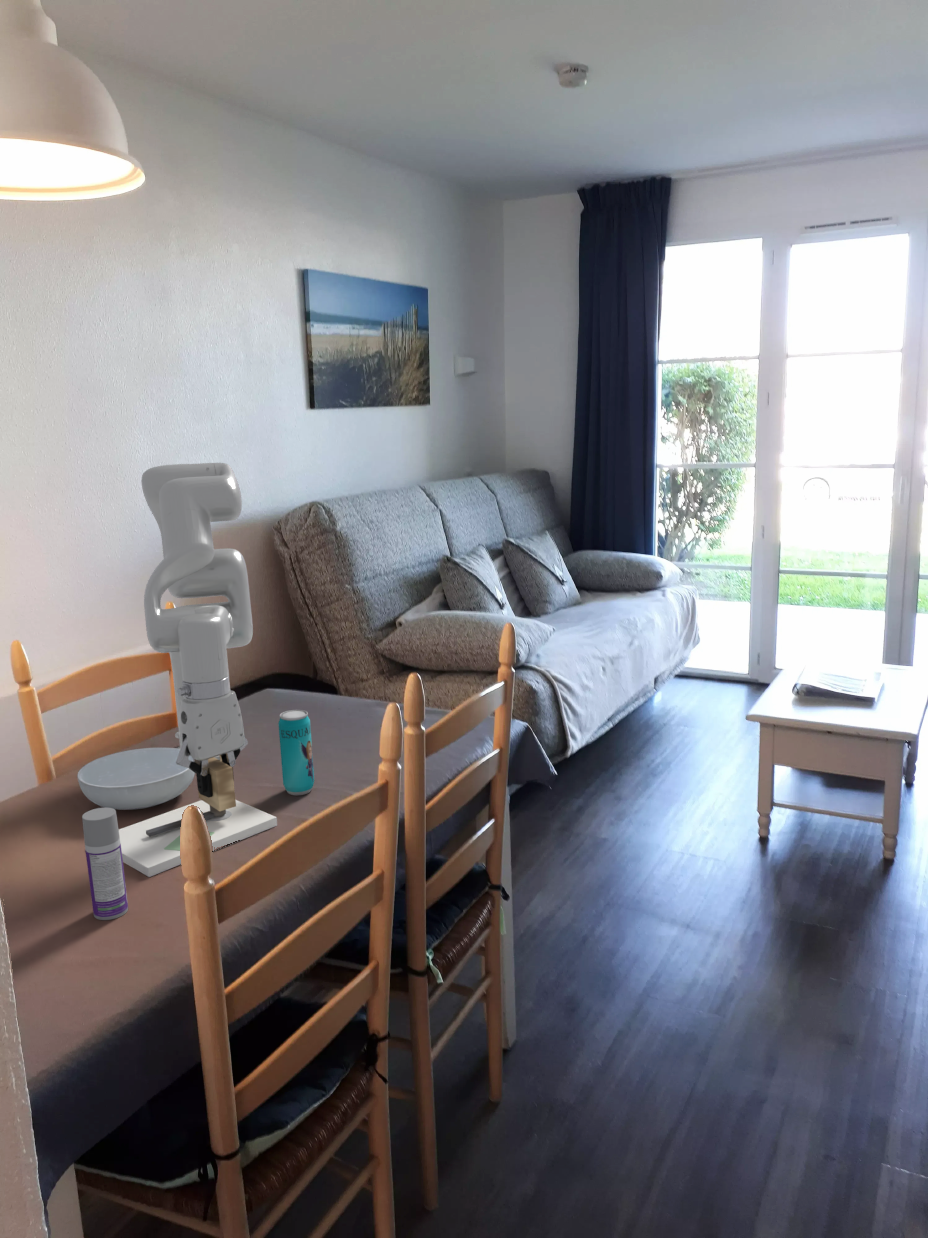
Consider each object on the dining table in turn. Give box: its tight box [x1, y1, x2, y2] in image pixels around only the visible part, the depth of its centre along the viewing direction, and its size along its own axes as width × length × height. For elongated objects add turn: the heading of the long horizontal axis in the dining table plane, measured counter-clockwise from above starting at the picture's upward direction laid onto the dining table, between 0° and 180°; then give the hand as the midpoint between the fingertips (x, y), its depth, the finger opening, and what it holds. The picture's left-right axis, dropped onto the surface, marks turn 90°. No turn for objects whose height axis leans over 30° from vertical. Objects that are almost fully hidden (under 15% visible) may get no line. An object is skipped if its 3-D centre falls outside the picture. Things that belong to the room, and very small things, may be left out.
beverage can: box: [277, 709, 315, 796], centre depth 178 cm, size 6×6×15 cm
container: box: [81, 807, 129, 921], centre depth 136 cm, size 5×5×15 cm
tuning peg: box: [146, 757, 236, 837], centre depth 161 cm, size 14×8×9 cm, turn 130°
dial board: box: [118, 799, 278, 878], centre depth 162 cm, size 18×24×2 cm
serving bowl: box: [76, 747, 196, 811], centre depth 177 cm, size 21×21×7 cm
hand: (216, 790), depth 165 cm, fingers closed on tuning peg, 3 cm apart
